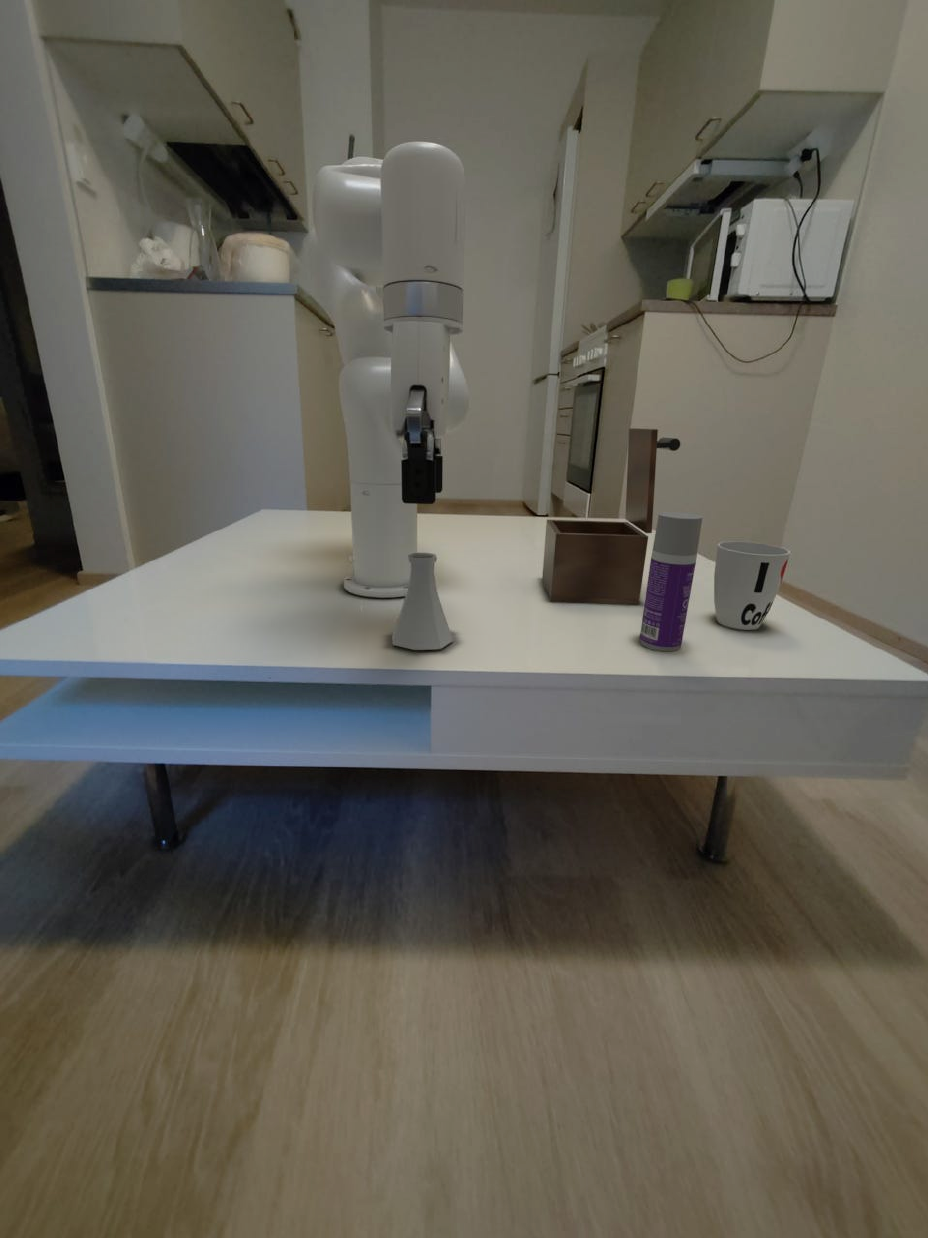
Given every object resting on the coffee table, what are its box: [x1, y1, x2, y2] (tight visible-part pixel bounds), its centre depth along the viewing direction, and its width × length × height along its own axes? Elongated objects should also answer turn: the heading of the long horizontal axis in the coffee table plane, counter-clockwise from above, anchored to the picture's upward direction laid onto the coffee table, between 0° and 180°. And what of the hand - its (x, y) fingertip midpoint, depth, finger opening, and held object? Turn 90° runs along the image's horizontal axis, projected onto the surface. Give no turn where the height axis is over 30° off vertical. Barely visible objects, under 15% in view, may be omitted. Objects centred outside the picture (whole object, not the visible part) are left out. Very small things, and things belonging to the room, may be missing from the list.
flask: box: [391, 552, 454, 651], centre depth 61 cm, size 7×7×10 cm
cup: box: [713, 541, 791, 631], centre depth 70 cm, size 8×8×10 cm
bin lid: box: [624, 427, 681, 534], centre depth 77 cm, size 13×12×5 cm
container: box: [638, 511, 703, 652], centre depth 61 cm, size 5×5×15 cm
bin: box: [541, 519, 649, 605], centre depth 82 cm, size 13×12×10 cm
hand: (423, 497), depth 57 cm, fingers open, 9 cm apart
